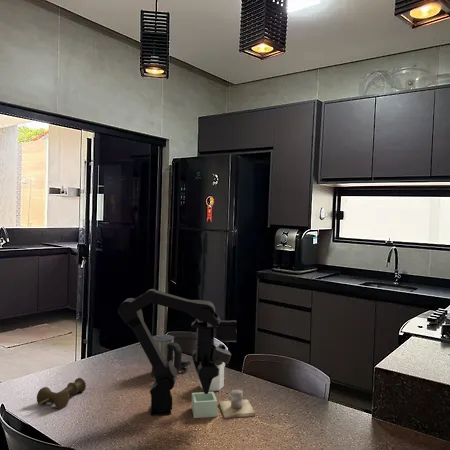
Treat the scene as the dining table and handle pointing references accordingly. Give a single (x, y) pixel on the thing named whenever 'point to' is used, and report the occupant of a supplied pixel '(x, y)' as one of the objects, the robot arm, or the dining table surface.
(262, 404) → the dining table surface
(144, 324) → the robot arm
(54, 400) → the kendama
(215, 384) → the jar
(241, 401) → the knob on square plate
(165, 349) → the milk frother
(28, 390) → the dining table surface
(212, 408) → the sleeve
